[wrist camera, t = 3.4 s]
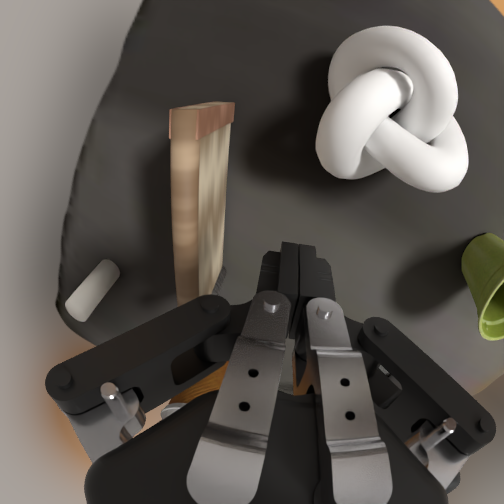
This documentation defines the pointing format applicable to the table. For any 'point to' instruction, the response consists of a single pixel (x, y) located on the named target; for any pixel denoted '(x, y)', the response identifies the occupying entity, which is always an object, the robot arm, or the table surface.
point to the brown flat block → (198, 194)
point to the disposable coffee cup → (195, 391)
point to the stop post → (92, 290)
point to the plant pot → (486, 282)
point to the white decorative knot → (387, 101)
